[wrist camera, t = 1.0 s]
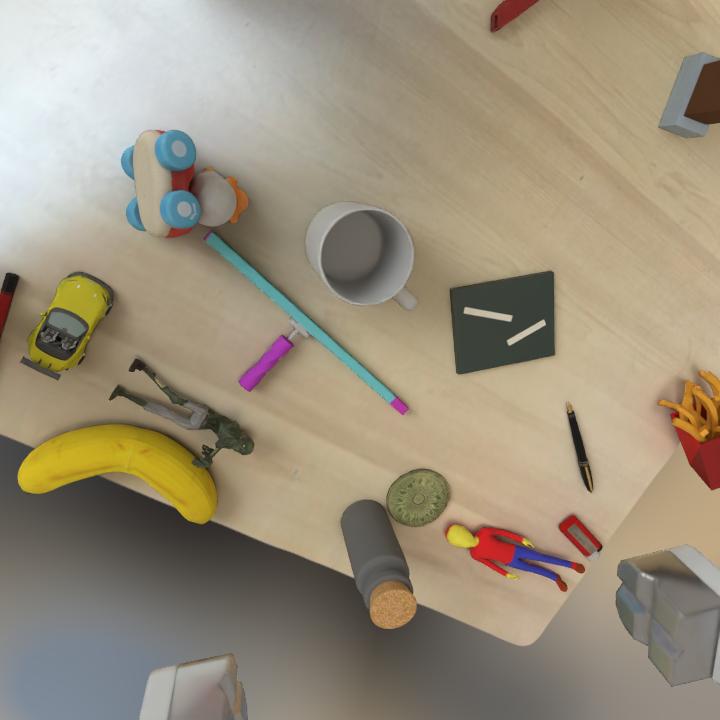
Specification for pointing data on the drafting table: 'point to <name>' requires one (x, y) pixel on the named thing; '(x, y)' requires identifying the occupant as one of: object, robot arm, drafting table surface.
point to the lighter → (581, 537)
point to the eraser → (694, 97)
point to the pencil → (6, 296)
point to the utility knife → (509, 12)
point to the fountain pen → (580, 450)
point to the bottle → (378, 564)
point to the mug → (362, 254)
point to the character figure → (506, 552)
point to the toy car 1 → (68, 324)
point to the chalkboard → (503, 321)
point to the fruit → (122, 465)
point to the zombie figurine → (194, 420)
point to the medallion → (417, 497)
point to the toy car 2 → (176, 187)
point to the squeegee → (300, 324)
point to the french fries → (700, 428)
